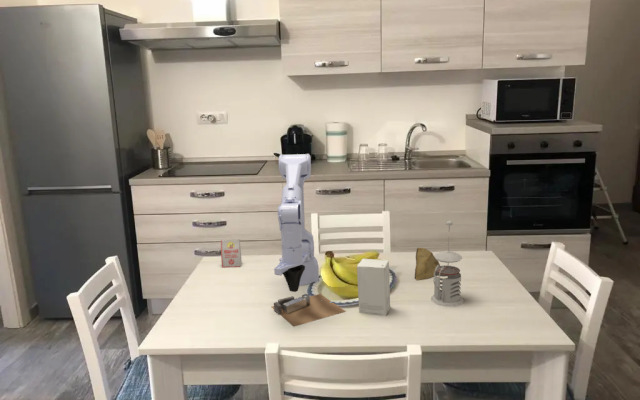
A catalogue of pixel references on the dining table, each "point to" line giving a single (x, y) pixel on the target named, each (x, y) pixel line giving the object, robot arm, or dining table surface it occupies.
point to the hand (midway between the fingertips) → (293, 290)
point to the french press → (447, 279)
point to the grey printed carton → (230, 253)
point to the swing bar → (296, 303)
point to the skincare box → (373, 286)
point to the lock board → (308, 310)
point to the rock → (425, 264)
